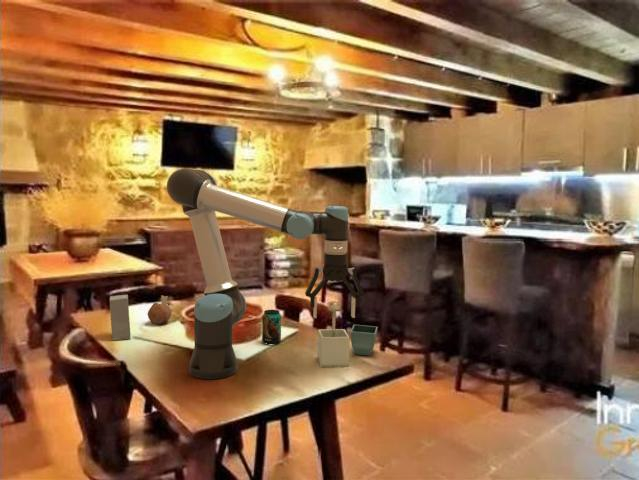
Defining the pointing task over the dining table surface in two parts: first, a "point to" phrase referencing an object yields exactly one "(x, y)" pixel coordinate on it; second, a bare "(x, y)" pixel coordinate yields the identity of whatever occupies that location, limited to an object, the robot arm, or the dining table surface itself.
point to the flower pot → (363, 339)
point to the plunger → (333, 307)
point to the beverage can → (271, 327)
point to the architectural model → (164, 301)
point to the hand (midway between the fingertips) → (333, 317)
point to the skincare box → (120, 317)
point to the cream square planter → (333, 348)
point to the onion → (159, 313)
